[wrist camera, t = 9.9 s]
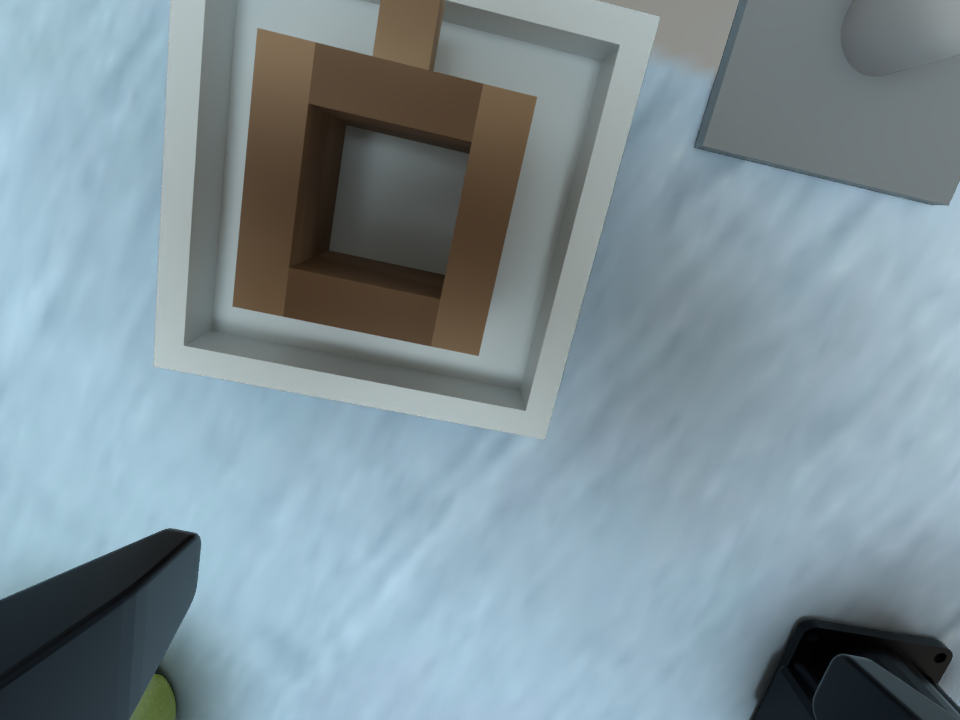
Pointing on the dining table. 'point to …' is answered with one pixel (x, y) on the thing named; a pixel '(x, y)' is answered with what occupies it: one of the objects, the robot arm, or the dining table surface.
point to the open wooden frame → (316, 167)
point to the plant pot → (156, 701)
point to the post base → (844, 93)
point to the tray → (400, 203)
